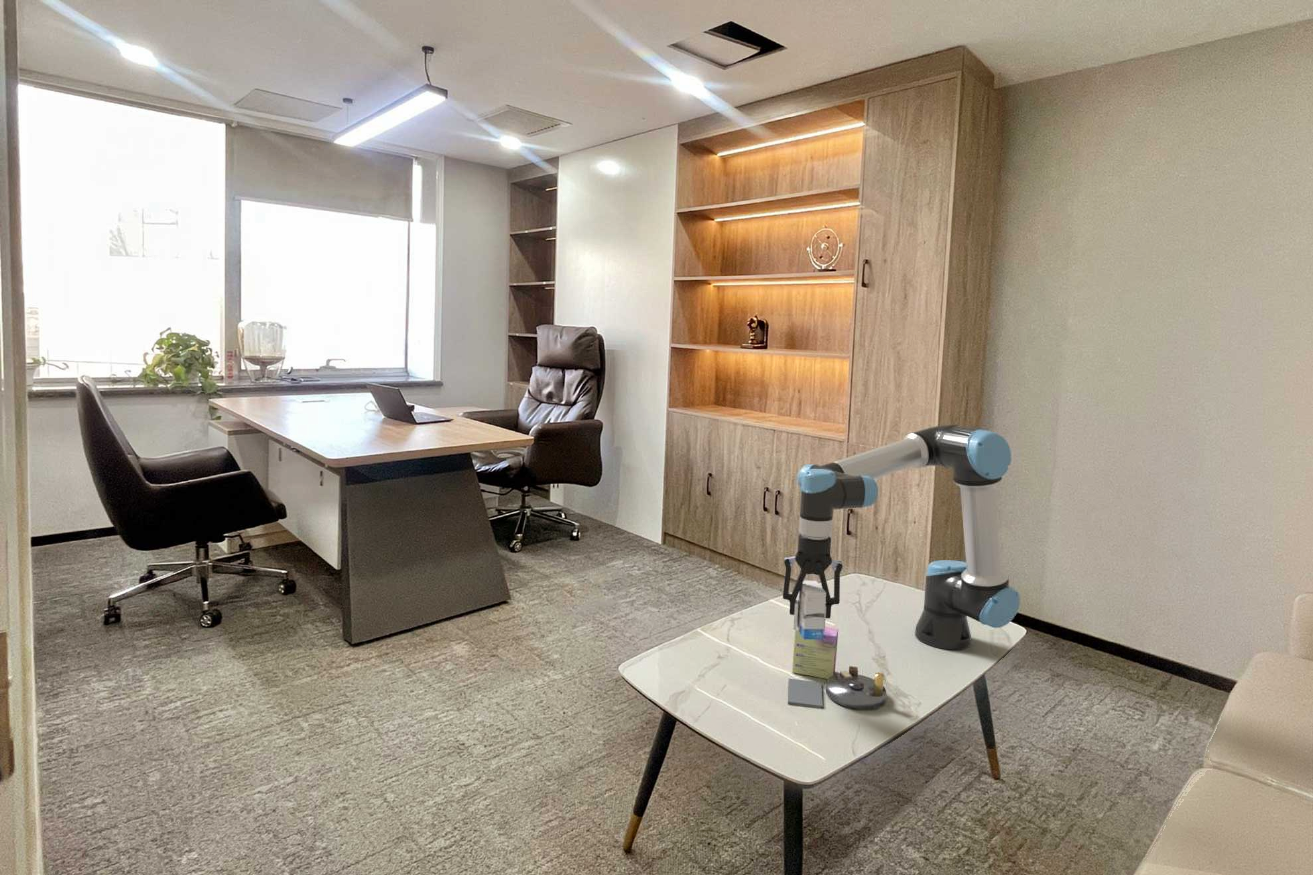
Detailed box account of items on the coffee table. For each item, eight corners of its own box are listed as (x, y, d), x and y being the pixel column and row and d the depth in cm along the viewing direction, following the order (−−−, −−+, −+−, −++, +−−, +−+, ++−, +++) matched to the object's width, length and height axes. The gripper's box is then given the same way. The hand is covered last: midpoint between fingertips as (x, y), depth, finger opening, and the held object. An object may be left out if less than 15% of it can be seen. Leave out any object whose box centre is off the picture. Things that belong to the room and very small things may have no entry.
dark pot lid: (894, 693, 179) (896, 666, 178) (871, 715, 168) (873, 687, 167) (841, 675, 188) (842, 649, 187) (815, 695, 177) (817, 667, 176)
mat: (821, 684, 183) (821, 682, 183) (822, 708, 172) (822, 705, 172) (788, 680, 185) (788, 678, 185) (787, 703, 173) (787, 701, 173)
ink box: (823, 640, 172) (827, 592, 170) (802, 639, 172) (806, 591, 170) (813, 625, 181) (817, 580, 179) (793, 625, 180) (797, 579, 179)
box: (835, 670, 191) (838, 627, 190) (833, 680, 186) (836, 636, 184) (795, 663, 195) (798, 621, 193) (791, 673, 189) (794, 629, 188)
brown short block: (856, 678, 188) (857, 666, 187) (857, 682, 185) (858, 671, 185) (848, 677, 188) (849, 666, 187) (849, 681, 186) (849, 670, 185)
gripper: (855, 534, 175) (848, 627, 178) (775, 527, 178) (769, 618, 181) (857, 542, 167) (850, 639, 171) (773, 536, 171) (768, 630, 174)
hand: (808, 628), depth 176 cm, fingers closed on ink box, 6 cm apart
